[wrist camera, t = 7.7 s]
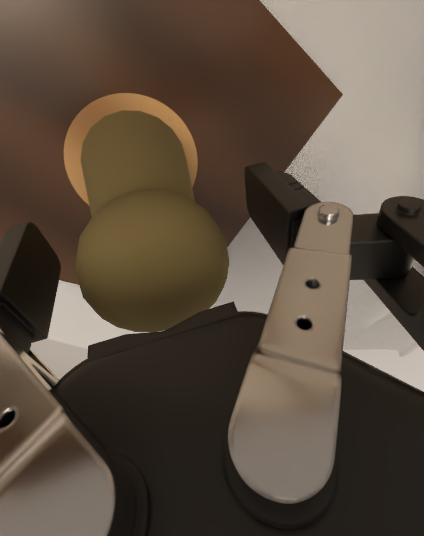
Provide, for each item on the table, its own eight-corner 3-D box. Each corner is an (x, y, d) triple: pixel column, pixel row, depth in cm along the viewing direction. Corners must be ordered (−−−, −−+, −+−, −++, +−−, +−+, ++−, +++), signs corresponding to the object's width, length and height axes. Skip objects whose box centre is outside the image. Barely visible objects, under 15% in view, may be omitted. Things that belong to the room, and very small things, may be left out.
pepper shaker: (67, 190, 17) (30, 348, 9) (101, 84, 14) (93, 172, 6) (161, 224, 20) (198, 362, 12) (203, 143, 17) (289, 251, 9)
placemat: (-15, -306, 8) (-18, -313, 8) (341, 93, 18) (343, 94, 17) (-86, 243, 16) (-88, 245, 16) (180, 307, 26) (180, 309, 26)
